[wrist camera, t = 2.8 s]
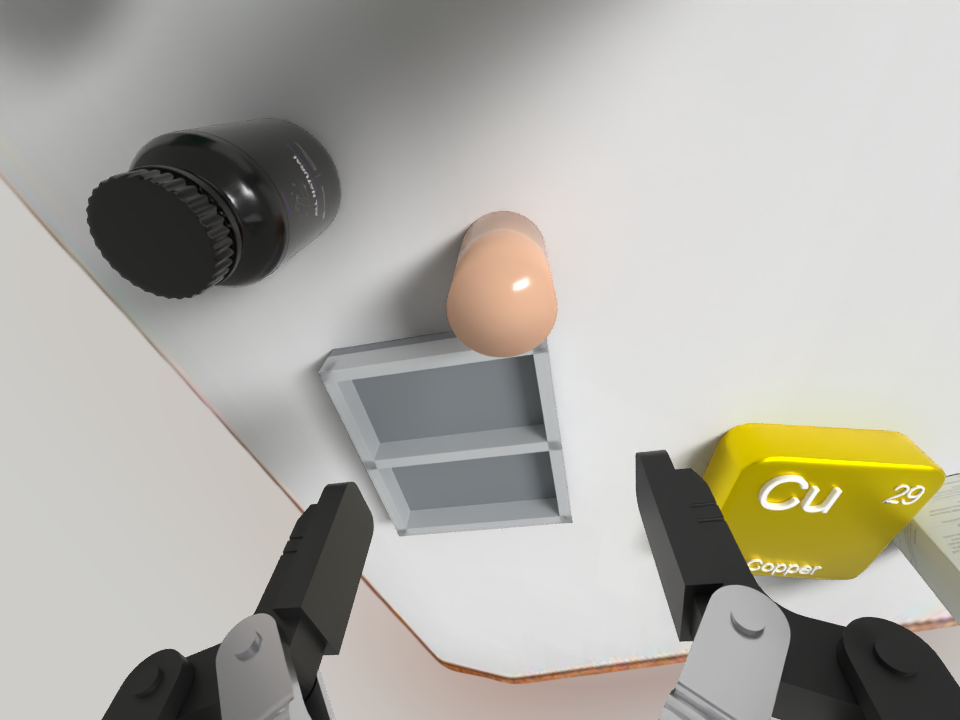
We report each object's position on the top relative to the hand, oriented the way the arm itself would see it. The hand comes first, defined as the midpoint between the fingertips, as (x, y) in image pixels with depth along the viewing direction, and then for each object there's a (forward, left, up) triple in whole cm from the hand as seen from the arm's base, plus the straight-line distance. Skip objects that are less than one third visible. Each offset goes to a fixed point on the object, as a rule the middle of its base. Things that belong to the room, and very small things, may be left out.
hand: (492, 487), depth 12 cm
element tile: (-21, +26, -20) cm, 39 cm away
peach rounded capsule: (0, 0, -19) cm, 19 cm away
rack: (+6, +15, -19) cm, 25 cm away
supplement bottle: (+12, -7, -19) cm, 24 cm away
